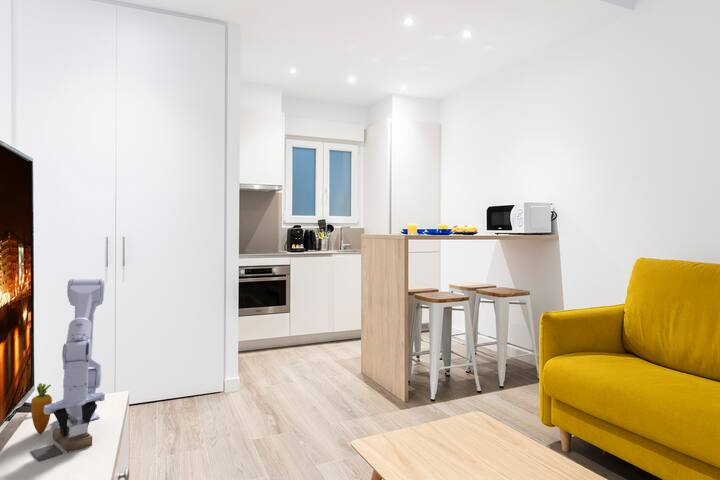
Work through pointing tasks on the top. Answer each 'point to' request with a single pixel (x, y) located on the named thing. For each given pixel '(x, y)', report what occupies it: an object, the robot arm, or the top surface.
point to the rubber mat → (46, 452)
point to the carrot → (40, 409)
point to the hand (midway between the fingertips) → (74, 432)
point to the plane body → (72, 440)
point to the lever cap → (76, 427)
